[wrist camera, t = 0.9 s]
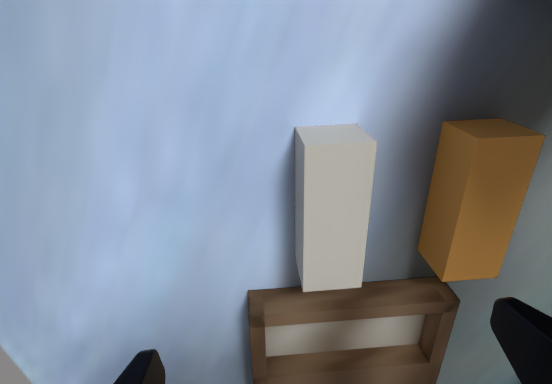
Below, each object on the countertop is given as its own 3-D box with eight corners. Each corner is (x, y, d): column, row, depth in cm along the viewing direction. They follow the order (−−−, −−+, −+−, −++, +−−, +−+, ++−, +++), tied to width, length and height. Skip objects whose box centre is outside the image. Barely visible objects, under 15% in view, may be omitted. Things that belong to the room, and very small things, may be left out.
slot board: (441, 276, 25) (460, 300, 23) (410, 401, 31) (422, 429, 29) (248, 290, 24) (248, 316, 22) (256, 416, 30) (257, 446, 28)
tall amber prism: (441, 120, 20) (477, 138, 17) (498, 117, 20) (545, 134, 17) (415, 247, 24) (442, 281, 21) (464, 244, 24) (497, 277, 21)
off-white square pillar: (294, 125, 19) (304, 145, 16) (355, 122, 20) (377, 141, 16) (294, 255, 23) (303, 292, 20) (345, 252, 24) (361, 287, 20)
